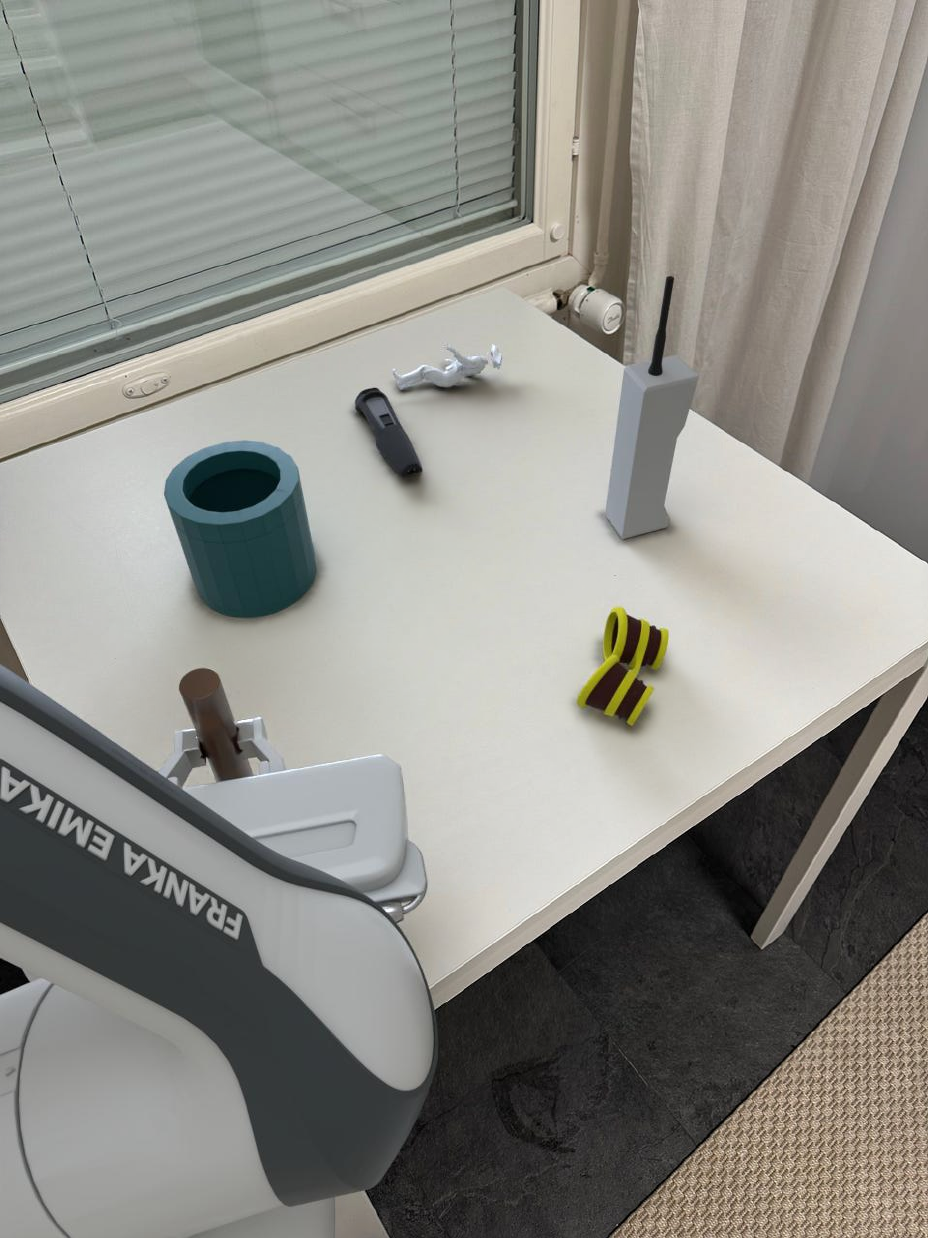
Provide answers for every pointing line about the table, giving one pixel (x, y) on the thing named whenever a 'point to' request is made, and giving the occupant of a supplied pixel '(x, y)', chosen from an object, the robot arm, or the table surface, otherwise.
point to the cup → (243, 527)
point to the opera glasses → (614, 682)
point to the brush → (214, 723)
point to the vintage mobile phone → (648, 435)
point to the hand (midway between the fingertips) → (220, 729)
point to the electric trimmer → (388, 432)
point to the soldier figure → (449, 369)
